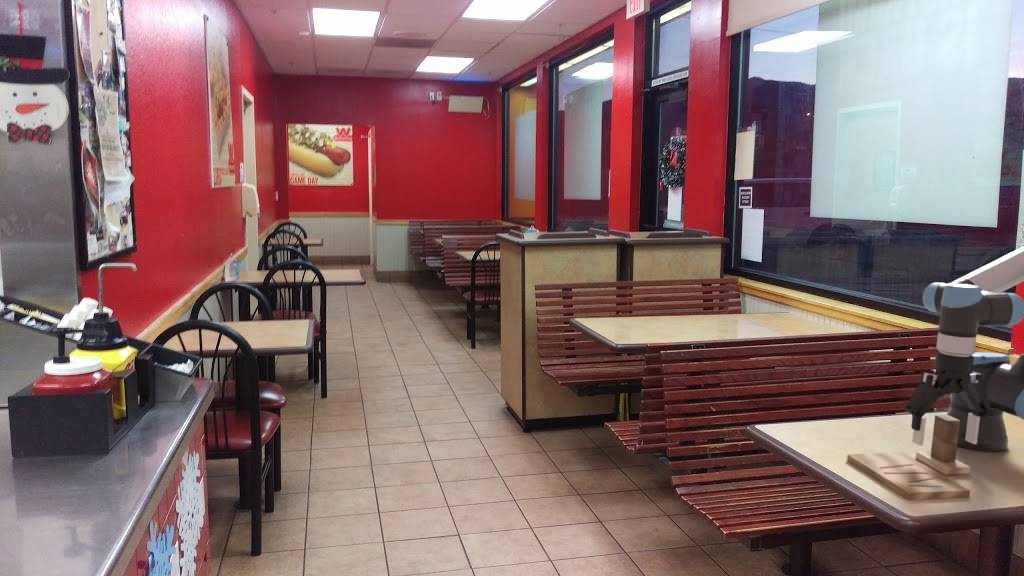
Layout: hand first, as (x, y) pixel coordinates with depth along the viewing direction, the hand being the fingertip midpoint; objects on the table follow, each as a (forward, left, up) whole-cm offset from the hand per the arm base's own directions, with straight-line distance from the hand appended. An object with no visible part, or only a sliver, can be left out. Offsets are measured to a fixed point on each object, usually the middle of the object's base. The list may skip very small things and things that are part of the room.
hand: (944, 443), depth 177 cm
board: (+13, +5, -6) cm, 15 cm away
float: (0, 0, -6) cm, 6 cm away
